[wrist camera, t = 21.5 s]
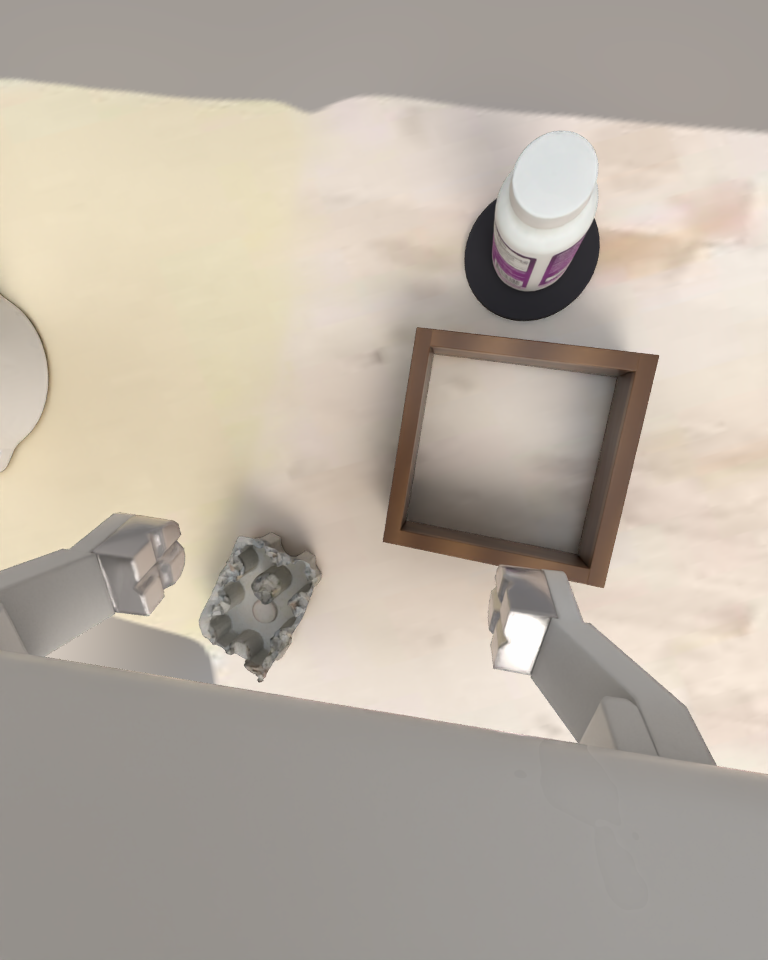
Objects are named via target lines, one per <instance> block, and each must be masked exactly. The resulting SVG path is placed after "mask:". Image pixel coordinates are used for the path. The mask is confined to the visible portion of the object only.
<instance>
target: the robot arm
mask: <svg viewBox="0 0 768 960" xmlns="http://www.w3.org/2000/svg"><path fill="white" fill-rule="evenodd" d="M47 392H48V367H47V360H46V356H45V352H44V348H43V345H42V343H41V340H40V338H39V336H38V334H37V332H36V330H35V328H34V326H33V325H32V323H31V322H30V320H29V319H28V318H27V317H26V315H25V314H24V313H23V312H22V311H21V310H20V309H19V308H18V307H16V306H15V305H14V304H12V303H11V302H10V301H8V300H7V299H5V298H4V297H3V296H1V295H0V472H2V471H4V470H5V468H6V467H7V465H8V463H9V461H10V459H11V457H12V454H13V452H14V449H15V448H16V446H17V445H18V444H19V443H20V442H21V441H22V440H23V439H24V438H25V437H26V436H27V435H28V434H29V433H30V432H31V431H32V430H33V428H34V427H35V425H36V424H37V422H38V420H39V419H40V416H41V414H42V412H43V409H44V406H45V402H46V398H47ZM180 535H181V532H180V528H179V524H178V523H177V522H175V521H173V520H167V519H160V518H154V517H148V516H141V515H133V514H127V513H115V514H112V515H111V516H110V517H109V518H107V519H106V520H105V521H104V522H102V523H101V524H100V525H99V526H97V527H96V528H95V529H94V530H93V531H91V532H90V533H89V534H88V535H86V536H85V537H84V538H83V539H81V540H80V541H79V542H78V543H76V544H75V545H74V546H73V547H71V548H70V549H69V550H68V549H61V550H58V551H55V552H52V553H50V554H47V555H44V556H41V557H38V558H36V559H33V560H30V561H27V562H24V563H21V564H19V565H16V566H13V567H10V568H7V569H4V570H2V571H0V960H768V774H763V773H757V772H751V771H745V770H739V769H732V768H726V767H720V766H717V765H716V763H715V761H714V759H713V757H712V755H711V754H710V752H709V750H708V748H707V746H706V744H705V742H704V740H703V738H702V736H701V734H700V732H699V730H698V728H697V726H696V724H695V723H694V721H693V719H692V717H691V715H690V713H689V711H688V709H687V707H686V706H685V705H684V704H683V703H681V702H680V701H679V700H678V699H677V698H676V697H675V696H673V695H672V694H671V693H670V692H669V691H668V690H666V689H665V688H664V687H663V686H662V685H661V684H660V683H658V682H657V681H656V680H655V679H654V678H653V677H652V676H650V675H649V674H648V673H647V672H646V671H645V670H643V669H642V668H641V667H640V666H639V665H638V664H637V663H635V662H634V661H633V660H632V659H631V658H630V657H628V656H627V655H626V654H625V653H624V652H623V651H622V650H620V649H619V648H618V647H617V646H616V645H615V644H614V643H612V642H611V641H610V640H609V639H608V638H607V637H605V636H604V635H603V634H602V633H601V632H600V631H599V630H597V629H596V628H595V627H594V626H593V625H592V624H590V623H584V621H583V618H582V616H581V613H580V610H579V608H578V605H577V602H576V600H575V597H574V594H573V592H572V589H571V586H570V584H569V581H568V578H567V575H566V574H565V573H564V572H563V571H555V570H545V569H541V570H540V569H532V568H524V567H517V566H509V565H501V564H499V566H498V568H497V571H496V575H495V581H496V588H495V589H493V590H492V591H491V595H490V600H489V607H488V626H489V630H490V631H491V633H492V634H493V637H492V641H491V653H492V661H493V669H498V670H504V671H510V672H515V673H521V674H526V675H531V678H532V680H533V681H534V683H535V684H536V685H537V687H538V688H539V689H540V691H541V692H542V694H543V695H544V696H545V698H546V699H547V701H548V702H549V703H550V705H551V706H552V707H553V709H554V710H555V712H556V713H557V714H558V716H559V717H560V719H561V720H562V721H563V723H564V724H565V725H566V727H567V728H568V730H569V731H570V732H571V734H572V735H573V737H574V738H575V739H576V741H577V742H578V743H572V742H566V741H560V740H554V739H548V738H542V737H536V736H529V735H523V734H517V733H511V732H505V731H499V730H492V729H486V728H480V727H474V726H468V725H462V724H456V723H449V722H443V721H437V720H431V719H425V718H419V717H412V716H406V715H400V714H394V713H388V712H382V711H376V710H369V709H363V708H357V707H351V706H345V705H339V704H332V703H326V702H320V701H314V700H308V699H302V698H296V697H289V696H283V695H277V694H271V693H265V692H259V691H253V690H246V689H240V688H234V687H228V686H222V685H216V684H209V683H203V682H197V681H191V680H184V679H178V678H172V677H166V676H160V675H154V674H148V673H141V672H135V671H129V670H123V669H117V668H111V667H104V666H98V665H92V664H86V663H79V662H74V661H67V660H61V659H55V658H49V657H45V656H47V655H48V654H50V653H51V652H53V651H55V650H57V649H58V648H60V647H61V646H63V645H65V644H66V643H68V642H70V641H71V640H73V639H75V638H76V637H78V636H80V635H81V634H83V633H84V632H86V631H88V630H89V629H91V628H93V627H94V626H96V625H98V624H99V623H101V622H103V621H104V620H106V619H108V618H109V617H111V616H113V615H114V614H115V612H118V613H126V614H134V615H143V616H149V615H150V614H151V613H152V612H153V610H154V609H155V608H156V607H157V605H158V604H159V603H160V602H161V600H162V599H163V598H164V597H165V596H164V589H165V588H167V587H169V586H171V585H173V584H175V583H176V581H177V580H178V579H179V577H180V576H181V574H182V571H183V568H184V566H185V552H184V548H183V547H182V546H181V545H180V544H179V542H178V541H177V539H178V538H179V537H180Z"/></svg>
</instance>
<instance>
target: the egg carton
mask: <svg viewBox="0 0 768 960" xmlns="http://www.w3.org/2000/svg"><path fill="white" fill-rule="evenodd" d="M226 563H227V565H226V566H225V568H224V569H223V570H222V572H221V573H220V575H219V578H218V581H217V583H216V585H215V587H214V589H213V591H212V594H211V596H210V598H209V600H208V602H207V604H206V606H205V607H204V609H203V611H202V613H201V615H200V619H199V626H200V629H201V632H202V635H203V636H204V637H205V638H207V639H209V641H210V642H211V643H212V644H213V645H218V646H220V647H222V648H223V649H224V650H225V651H226V653H227V654H229V655H232V654H234V653H236V654H238V655H239V656H241V657H242V658H244V659H246V661H245V664H244V666H245V668H246V669H247V670H248V671H250V672H251V673H253V674H256V676H257V677H258V680H257V681H258V682H262V681H263V679H264V678H265V677H266V674H267V672H268V670H269V669H270V667H271V666H272V663H273V662H274V661H275V660H279V659H280V658H282V656H283V655H284V654H285V652H286V650H287V649H288V647H289V645H290V644H291V638H290V636H291V634H292V633H293V632H294V630H295V629H296V627H297V626H298V624H299V623H300V621H301V619H302V617H303V615H304V613H305V610H306V608H307V605H308V602H309V599H310V597H311V594H312V591H313V588H314V587H315V586H316V585H317V584H318V582H319V581H320V579H321V577H322V573H321V572H320V571H319V570H318V569H317V566H316V559H315V555H313V554H311V553H309V552H308V551H304V552H303V553H302V554H300V555H299V556H297V557H293V556H289V555H288V554H286V553H285V551H284V549H283V548H282V545H281V538H280V537H279V536H277V535H276V534H274V533H269V534H268V535H266V536H263V537H261V538H254V539H253V538H249V537H243V536H239V537H238V539H237V541H236V543H235V546H234V548H233V550H232V554H231V556H230V558H229V560H228V561H227V562H226Z"/></svg>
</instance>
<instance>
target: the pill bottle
mask: <svg viewBox="0 0 768 960" xmlns="http://www.w3.org/2000/svg"><path fill="white" fill-rule="evenodd" d="M597 176H598V159H597V155H596V152H595V150H594V148H593V147H592V145H591V144H590V143H589V142H588V141H587V139H585V138H584V137H582V136H581V135H579V134H577V133H574V132H570V131H553V132H550V133H547V134H544V135H542V136H540V137H538V138H537V139H535V140H534V141H533V142H531V143H530V144H529V145H528V146H527V147H526V148H525V149H524V151H523V152H522V153H521V155H520V156H519V158H518V160H517V162H516V164H515V167H514V169H513V170H512V171H511V172H510V174H509V175H508V176H507V178H506V179H505V181H504V183H503V184H502V187H501V189H500V191H499V194H498V198H497V202H496V207H495V220H494V233H493V247H492V259H493V265H494V268H495V270H496V272H497V275H498V276H499V278H500V279H501V280H502V281H503V282H504V283H505V284H507V285H508V286H510V287H512V288H514V289H517V290H520V291H536V290H540V289H543V288H545V287H547V286H549V285H551V284H553V283H554V282H555V281H557V280H558V279H559V278H560V277H561V276H562V274H563V273H564V272H565V270H566V269H567V267H568V266H569V264H570V263H571V261H572V259H573V257H574V255H575V253H576V252H577V250H578V248H579V246H580V244H581V242H582V240H583V239H584V237H585V235H586V233H587V231H588V229H589V228H590V226H591V224H592V222H593V219H594V216H595V213H596V210H597V205H598V185H597Z"/></svg>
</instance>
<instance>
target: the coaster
mask: <svg viewBox="0 0 768 960" xmlns="http://www.w3.org/2000/svg"><path fill="white" fill-rule="evenodd" d="M496 202H497V199H496V200H494V201H493V202H492V203H491V204H490V205H489V206H488V207H487V208H486V209H485V210H484V211H483V212H482V213H481V215H480V216H479V217H478V219H477V220H476V222H475V224H474V225H473V227H472V230H471V232H470V234H469V237H468V240H467V244H466V250H465V271H466V276H467V279H468V282H469V285H470V287H471V289H472V291H473V293H474V295H475V296H476V298H477V299H478V300H479V301H480V302H481V303H482V304H483V305H484V306H485V307H486V308H487V309H488V310H490V311H492V312H493V313H495V314H497V315H499V316H501V317H504V318H507V319H511V320H518V321H530V320H537V319H541V318H545V317H548V316H550V315H553V314H555V313H557V312H559V311H560V310H562V309H564V308H565V307H566V306H568V305H569V304H570V303H571V302H573V301H574V300H575V299H576V298H577V297H578V296H579V294H580V293H581V292H582V291H583V290H584V288H585V287H586V285H587V284H588V282H589V281H590V279H591V277H592V275H593V273H594V270H595V267H596V265H597V261H598V256H599V248H600V243H599V233H598V228H597V224H596V221H595V219H593V222H592V224H591V226H590V228H589V229H588V231H587V233H586V235H585V237H584V239H583V240H582V242H581V244H580V246H579V248H578V250H577V252H576V253H575V255H574V257H573V259H572V261H571V263H570V264H569V266H568V267H567V269H566V270H565V272H564V273H563V274H562V276H561V277H560V278H559V279H558V280H557V281H555V282H554V283H553V284H551V285H549V286H547V287H545V288H543V289H540V290H536V291H520V290H517V289H514V288H512V287H510V286H508V285H507V284H505V283H504V282H503V281H502V280H501V279H500V278H499V276H498V275H497V272H496V270H495V268H494V265H493V259H492V247H493V233H494V220H495V207H496Z"/></svg>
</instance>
